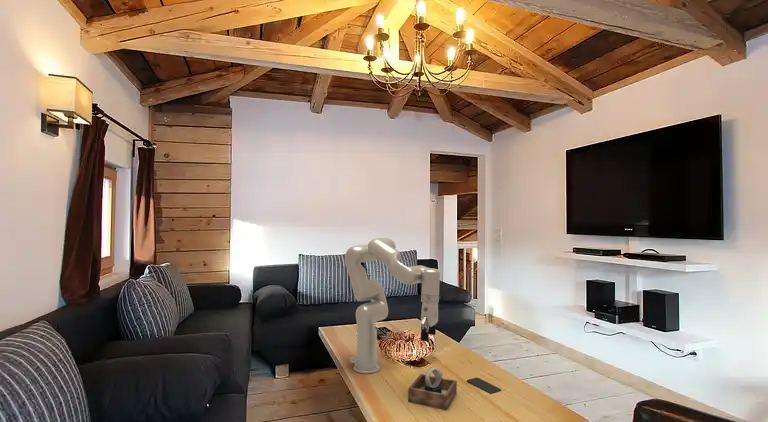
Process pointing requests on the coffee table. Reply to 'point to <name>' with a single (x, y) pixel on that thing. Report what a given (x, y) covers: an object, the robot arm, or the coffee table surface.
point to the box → (432, 398)
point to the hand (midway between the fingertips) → (428, 337)
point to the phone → (483, 385)
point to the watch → (435, 386)
